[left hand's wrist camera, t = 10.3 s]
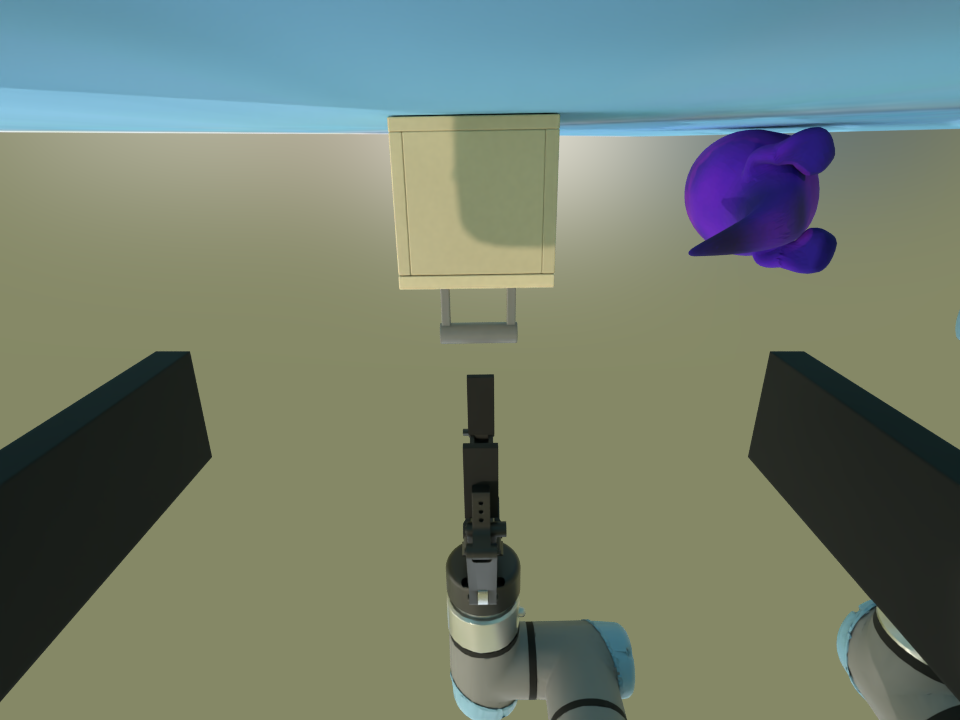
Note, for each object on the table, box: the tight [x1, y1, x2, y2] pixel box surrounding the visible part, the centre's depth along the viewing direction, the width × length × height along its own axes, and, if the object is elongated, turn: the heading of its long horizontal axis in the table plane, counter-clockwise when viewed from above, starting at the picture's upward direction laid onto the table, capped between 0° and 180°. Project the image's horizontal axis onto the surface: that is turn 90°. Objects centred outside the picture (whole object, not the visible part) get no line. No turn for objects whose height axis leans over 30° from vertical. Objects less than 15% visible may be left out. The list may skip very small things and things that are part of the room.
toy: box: [685, 127, 837, 274], centre depth 66 cm, size 16×18×27 cm
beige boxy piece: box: [399, 273, 554, 344], centre depth 41 cm, size 14×10×8 cm
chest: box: [387, 114, 560, 275], centre depth 37 cm, size 13×10×9 cm
